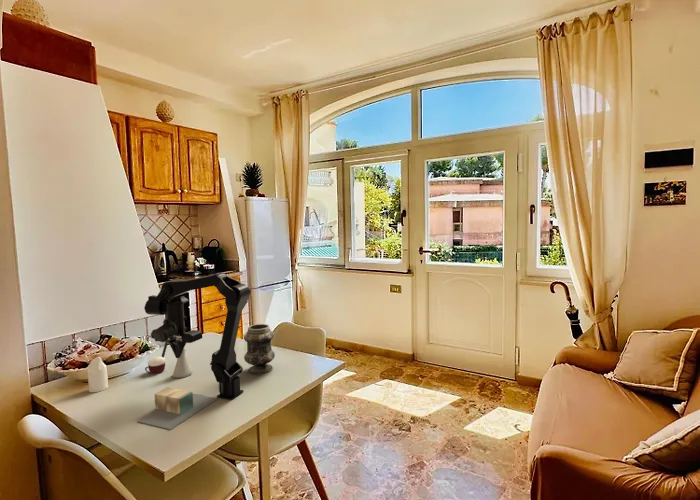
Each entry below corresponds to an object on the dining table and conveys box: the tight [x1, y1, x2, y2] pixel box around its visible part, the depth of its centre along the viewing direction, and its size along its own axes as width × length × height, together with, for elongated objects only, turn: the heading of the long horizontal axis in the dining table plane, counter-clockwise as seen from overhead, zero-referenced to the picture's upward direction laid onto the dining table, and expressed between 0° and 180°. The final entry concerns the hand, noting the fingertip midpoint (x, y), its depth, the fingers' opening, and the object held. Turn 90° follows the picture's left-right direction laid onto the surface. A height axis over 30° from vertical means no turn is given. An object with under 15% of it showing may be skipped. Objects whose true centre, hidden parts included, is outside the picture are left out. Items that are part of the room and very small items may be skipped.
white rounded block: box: [86, 356, 109, 393], centre depth 138 cm, size 6×12×6 cm
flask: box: [171, 348, 194, 379], centre depth 149 cm, size 7×7×10 cm
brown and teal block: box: [154, 386, 194, 414], centre depth 122 cm, size 5×5×11 cm
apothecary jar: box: [243, 323, 276, 375], centre depth 152 cm, size 12×12×18 cm
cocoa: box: [144, 342, 169, 375], centre depth 153 cm, size 10×6×12 cm, turn 119°
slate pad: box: [136, 393, 219, 431], centre depth 122 cm, size 14×20×1 cm
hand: (178, 357), depth 135 cm, fingers closed
